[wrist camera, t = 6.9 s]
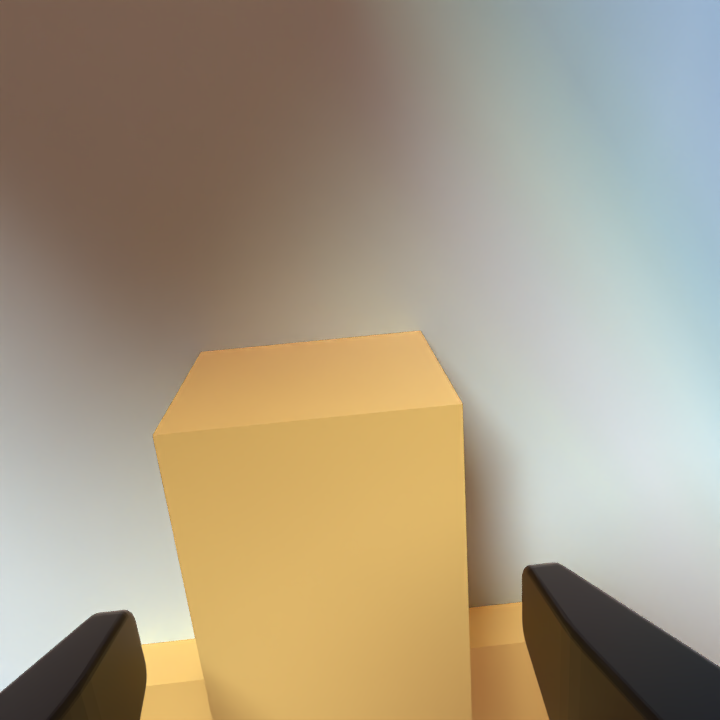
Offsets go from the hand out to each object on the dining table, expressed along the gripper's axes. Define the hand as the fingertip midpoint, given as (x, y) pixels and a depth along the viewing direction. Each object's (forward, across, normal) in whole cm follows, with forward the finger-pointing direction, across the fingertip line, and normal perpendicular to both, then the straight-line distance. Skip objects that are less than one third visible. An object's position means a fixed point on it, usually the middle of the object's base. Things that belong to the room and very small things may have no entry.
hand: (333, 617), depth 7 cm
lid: (+3, 0, +5) cm, 6 cm away
